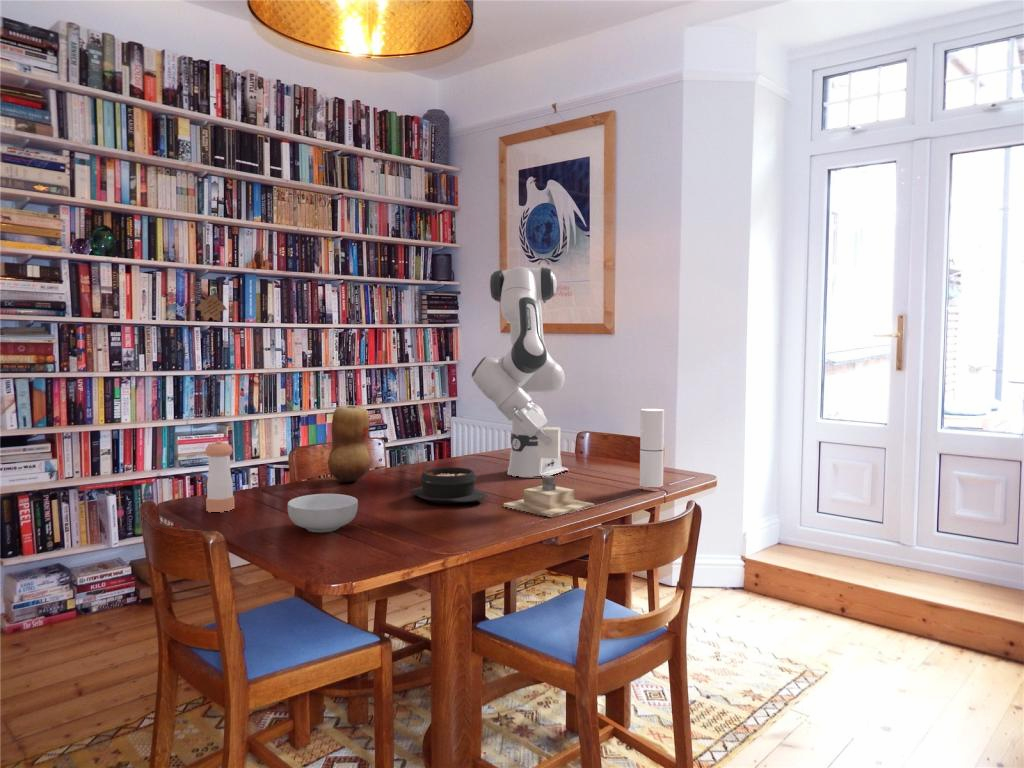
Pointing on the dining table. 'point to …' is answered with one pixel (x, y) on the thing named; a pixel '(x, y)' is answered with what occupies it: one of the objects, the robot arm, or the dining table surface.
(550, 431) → the upright ivory block
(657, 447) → the cylindrical container
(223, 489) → the salt shaker
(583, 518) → the dining table surface
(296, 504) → the cereal bowl
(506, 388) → the robot arm
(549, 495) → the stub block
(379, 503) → the dining table surface
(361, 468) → the butternut squash
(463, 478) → the casserole
